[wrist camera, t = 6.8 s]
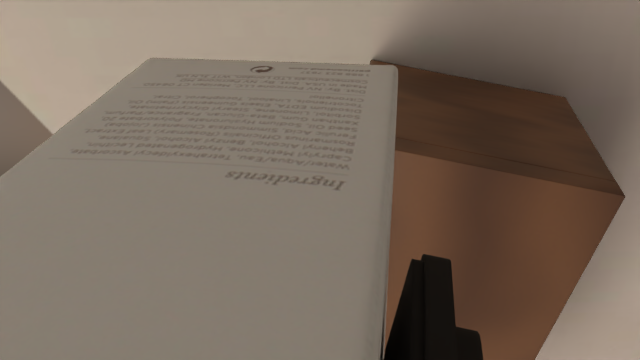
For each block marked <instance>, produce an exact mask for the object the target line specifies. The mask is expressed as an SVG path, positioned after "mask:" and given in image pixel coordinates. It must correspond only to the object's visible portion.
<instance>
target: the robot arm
mask: <svg viewBox="0 0 640 360" xmlns="http://www.w3.org/2000/svg"><path fill="white" fill-rule="evenodd" d="M384 360H483V353H482V344H481V338H480V334H479V333H478V331H474V330H470V329H465V328H460V327H456V323H455V309H454V294H453V280H452V266H451V260H450V259H446V258H441V257H437V256H432V255H427V254H423V255H422V257H421V260H416V259H412V260H411V262H410V265H409V269H408V272H407V276H406V279H405V283H404V286H403V290H402V293H401V296H400V300H399V303H398V307H397V310H396V314H395V317H394V321H393V324H392V327H391V331H390V334H389V338H388V341H387V345H386V349H385V354H384Z"/></svg>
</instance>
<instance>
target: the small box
mask: <svg viewBox="0 0 640 360" xmlns="http://www.w3.org/2000/svg"><path fill="white" fill-rule="evenodd" d="M397 93H398V69H397V67H396V66H394V65H357V64H329V63H300V62H270V61H239V60H205V59H172V58H150V59H148V60H146V61H145V62H144V63H143V64H141V65H140V66H139V67H138V68H137V69H135V70H134V71H133V72H132V73H130V74H129V75H128V76H126V77H125V78H124V79H122V80H121V81H120V82H118V83H117V84H116V85H115V86H114V87H113V88H111V89H110V90H109V91H108V92H106V93H105V94H104V95H102V96H101V97H100V98H99V99H97V100H96V101H95V102H94V103H92V104H91V105H90V106H89V107H87V108H86V109H85V110H83V111H82V112H81V113H80V114H78V115H77V116H76V117H75V118H73V119H72V120H71V121H69V122H68V123H67V124H66V125H64V126H63V127H62V128H60V129H59V130H58V131H57V132H56V133H55V134H54V135H53V136H51V137H50V138H49V139H48V140H46V141H45V142H44V143H42V144H41V145H40V146H38V147H37V148H36V149H35V150H33V151H32V152H31V153H30V154H28V155H27V156H26V157H25V158H23V159H22V160H21V161H20V162H18V163H17V164H16V165H15V166H14V167H12V168H11V169H10V170H9V171H7V172H6V173H5V174H3V175H2V176H1V177H0V360H384V349H385V330H386V310H387V289H388V266H389V246H390V229H391V212H392V194H393V177H394V156H395V135H396V115H397Z"/></svg>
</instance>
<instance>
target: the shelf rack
mask: <svg viewBox="0 0 640 360" xmlns="http://www.w3.org/2000/svg"><path fill="white" fill-rule="evenodd" d="M370 65H394V66H396V67H397V69H398V93H397V115H396V135H395V156H394V177H393V194H392V212H391V229H390V246H389V266H388V289H387V310H386V330H385V349H386V345H387V341H388V338H389V334H390V331H391V327H392V324H393V321H394V317H395V314H396V310H397V307H398V303H399V300H400V296H401V293H402V290H403V286H404V283H405V279H406V276H407V272H408V269H409V265H410V262H411V260H412V259H416V260H421V257H422V255H423V254H427V255H432V256H437V257H441V258H446V259H450V260H451V266H452V280H453V294H454V309H455V323H456V327H460V328H465V329H470V330H474V331H478V333H479V334H480V338H481V344H482V353H483V360H535V358H536V356H537V354H538V353H539V351H540V349H541V347H542V345H543V344H544V342H545V340H546V338H547V336H548V335H549V333H550V331H551V329H552V327H553V326H554V324H555V322H556V320H557V318H558V317H559V315H560V313H561V311H562V309H563V308H564V306H565V304H566V302H567V300H568V299H569V297H570V295H571V293H572V291H573V290H574V288H575V286H576V284H577V282H578V281H579V279H580V277H581V275H582V273H583V272H584V270H585V268H586V266H587V264H588V263H589V261H590V259H591V257H592V255H593V254H594V252H595V250H596V248H597V246H598V245H599V243H600V241H601V239H602V237H603V236H604V234H605V232H606V230H607V228H608V227H609V225H610V223H611V221H612V219H613V218H614V216H615V214H616V212H617V210H618V209H619V207H620V205H621V203H622V201H623V200H624V198H625V195H624V193H623V192H622V190H621V188H620V187H619V185H618V183H617V182H616V181H615V179H614V177H613V176H612V174H611V172H610V171H609V169H608V167H607V166H606V164H605V162H604V161H603V159H602V157H601V156H600V154H599V153H598V151H597V149H596V148H595V146H594V144H593V143H592V141H591V139H590V138H589V136H588V134H587V133H586V131H585V129H584V128H583V126H582V124H581V123H580V121H579V119H578V118H577V116H576V114H575V113H574V111H573V109H572V108H571V106H570V104H569V103H568V101H567V99H566V98H565V97H561V96H556V95H550V94H545V93H540V92H535V91H530V90H525V89H519V88H514V87H509V86H504V85H499V84H494V83H489V82H483V81H478V80H473V79H468V78H463V77H458V76H452V75H447V74H442V73H437V72H432V71H427V70H422V69H416V68H411V67H406V66H401V65H396V64H391V63H385V62H380V61H375V60H371V61H370ZM385 349H384V354H385Z"/></svg>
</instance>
